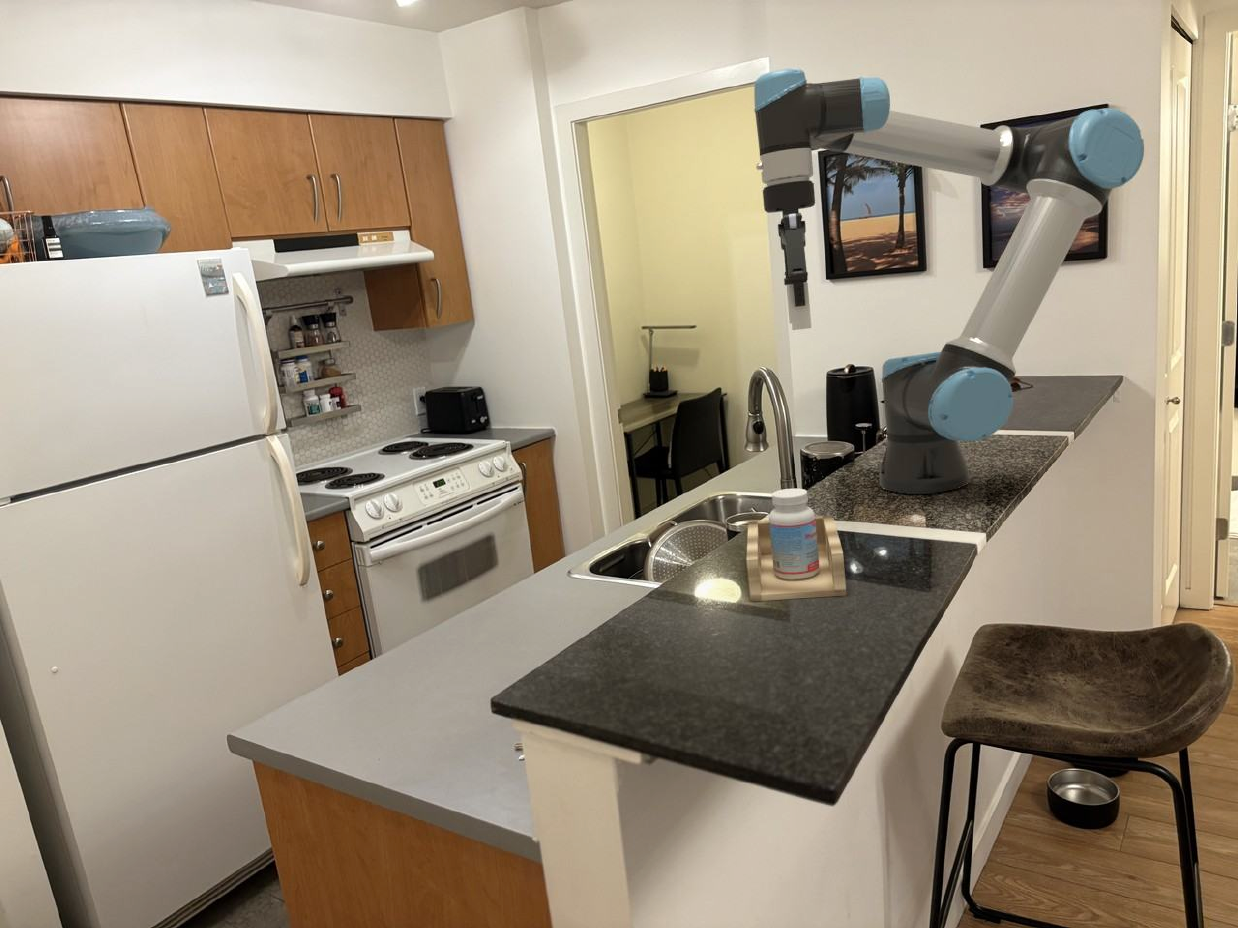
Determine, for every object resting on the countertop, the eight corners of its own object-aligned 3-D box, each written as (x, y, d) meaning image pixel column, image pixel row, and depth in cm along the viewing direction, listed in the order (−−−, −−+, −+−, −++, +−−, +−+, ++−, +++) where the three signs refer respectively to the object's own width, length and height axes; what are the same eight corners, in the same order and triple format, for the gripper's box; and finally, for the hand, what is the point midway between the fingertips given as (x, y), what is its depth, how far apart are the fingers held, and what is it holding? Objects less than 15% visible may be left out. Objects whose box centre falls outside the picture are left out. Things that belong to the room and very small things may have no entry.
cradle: (751, 558, 135) (748, 521, 134) (835, 552, 133) (832, 514, 132) (750, 601, 118) (746, 559, 117) (846, 595, 116) (843, 552, 115)
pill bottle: (820, 579, 120) (813, 496, 118) (773, 582, 122) (765, 500, 119) (819, 564, 126) (812, 485, 124) (774, 567, 127) (767, 488, 125)
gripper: (762, 192, 150) (774, 322, 154) (762, 179, 126) (776, 335, 130) (809, 185, 148) (819, 317, 153) (818, 171, 124) (831, 328, 129)
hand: (800, 326), depth 141 cm, fingers open, 13 cm apart
